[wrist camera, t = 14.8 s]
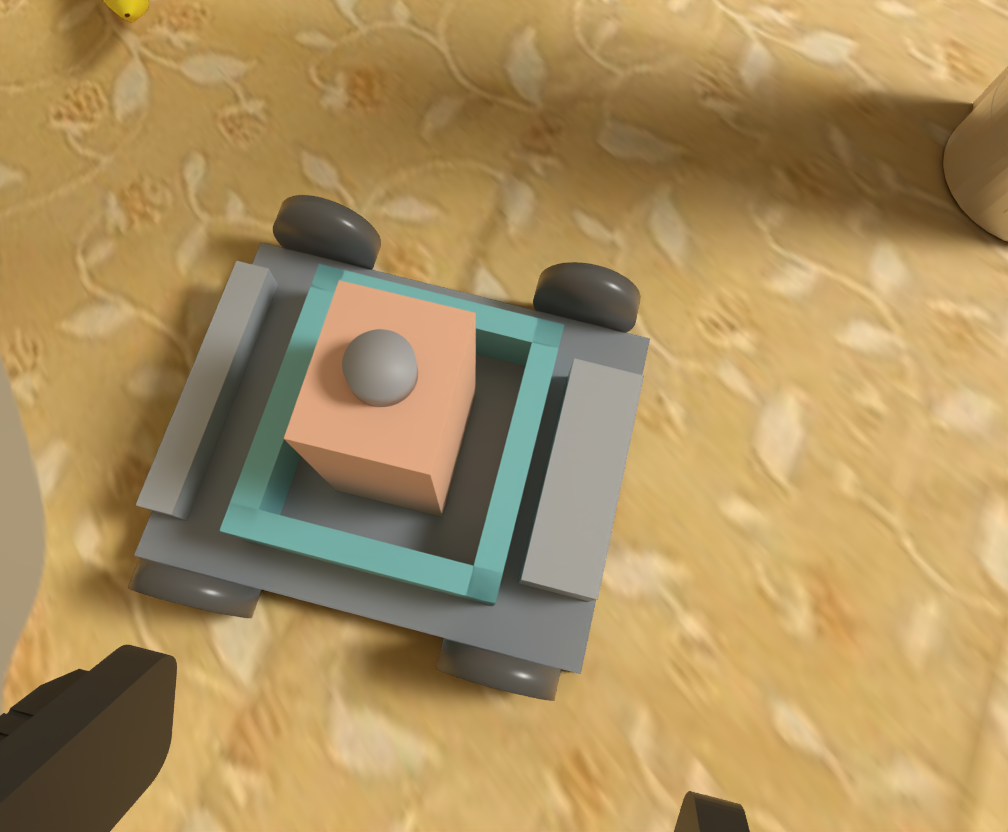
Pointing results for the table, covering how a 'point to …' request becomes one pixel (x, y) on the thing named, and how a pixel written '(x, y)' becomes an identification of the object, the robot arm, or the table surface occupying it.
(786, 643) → the table surface
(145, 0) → the banana
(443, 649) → the chassis
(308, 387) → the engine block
